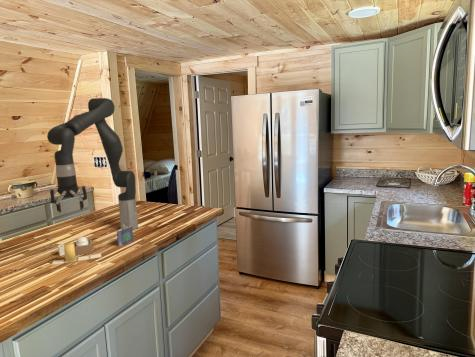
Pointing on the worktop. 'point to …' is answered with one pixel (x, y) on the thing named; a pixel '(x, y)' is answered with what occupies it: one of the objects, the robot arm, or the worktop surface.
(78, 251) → the board
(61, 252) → the die
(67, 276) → the worktop surface
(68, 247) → the yellow rounded oblong piece
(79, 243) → the white rounded egg-shaped piece
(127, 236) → the navy rounded piece
